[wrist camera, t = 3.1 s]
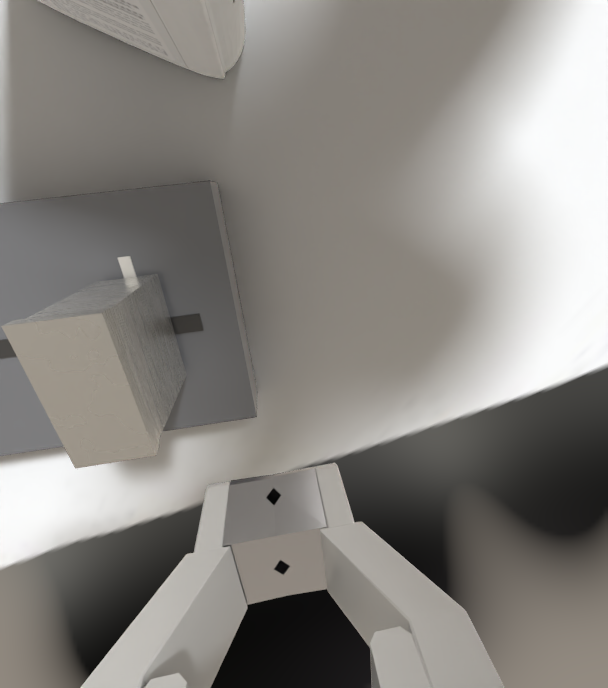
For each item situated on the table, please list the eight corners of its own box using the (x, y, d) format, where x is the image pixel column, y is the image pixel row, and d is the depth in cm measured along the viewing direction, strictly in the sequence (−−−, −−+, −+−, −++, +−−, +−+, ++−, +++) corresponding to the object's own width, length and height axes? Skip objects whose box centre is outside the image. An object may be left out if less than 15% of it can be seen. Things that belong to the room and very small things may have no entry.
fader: (158, 271, 17) (102, 312, 11) (188, 376, 20) (155, 455, 14) (94, 279, 17) (1, 326, 11) (133, 384, 19) (75, 468, 13)
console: (217, 183, 19) (209, 180, 16) (257, 392, 24) (256, 418, 22) (-289, 238, 17) (-398, 246, 14) (-117, 447, 23) (-171, 483, 20)
